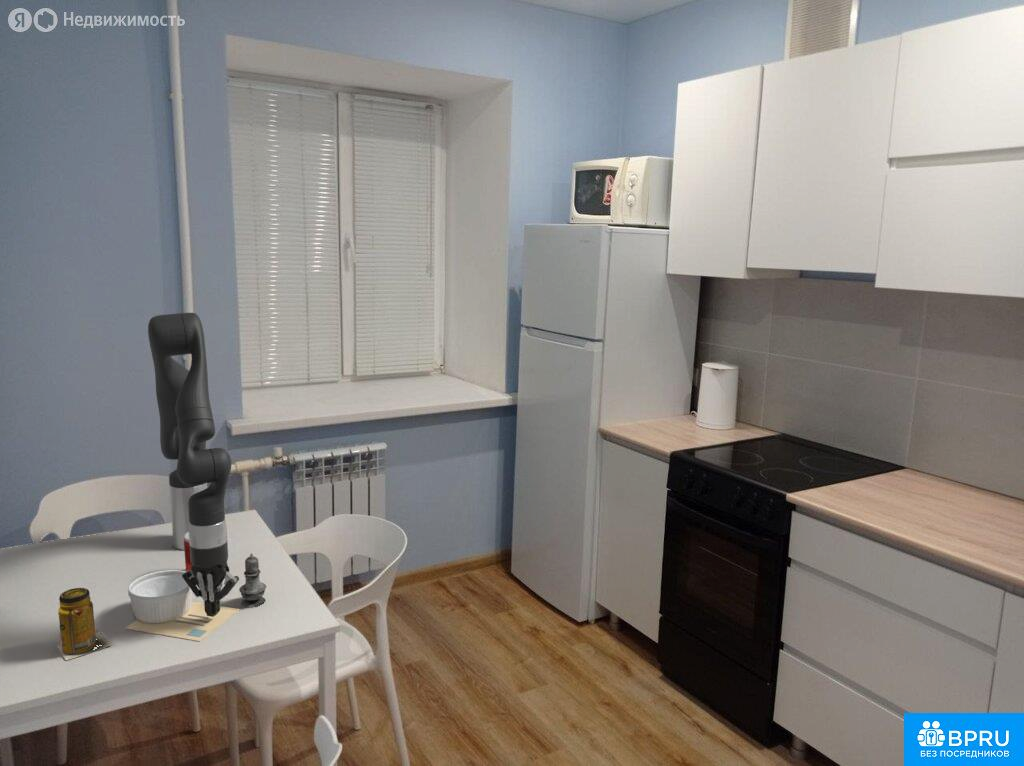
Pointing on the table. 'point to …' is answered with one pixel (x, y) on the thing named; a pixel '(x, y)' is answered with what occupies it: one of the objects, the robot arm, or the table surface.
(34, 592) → the table surface
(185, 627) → the letter
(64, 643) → the condiment
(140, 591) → the ramekin
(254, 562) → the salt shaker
